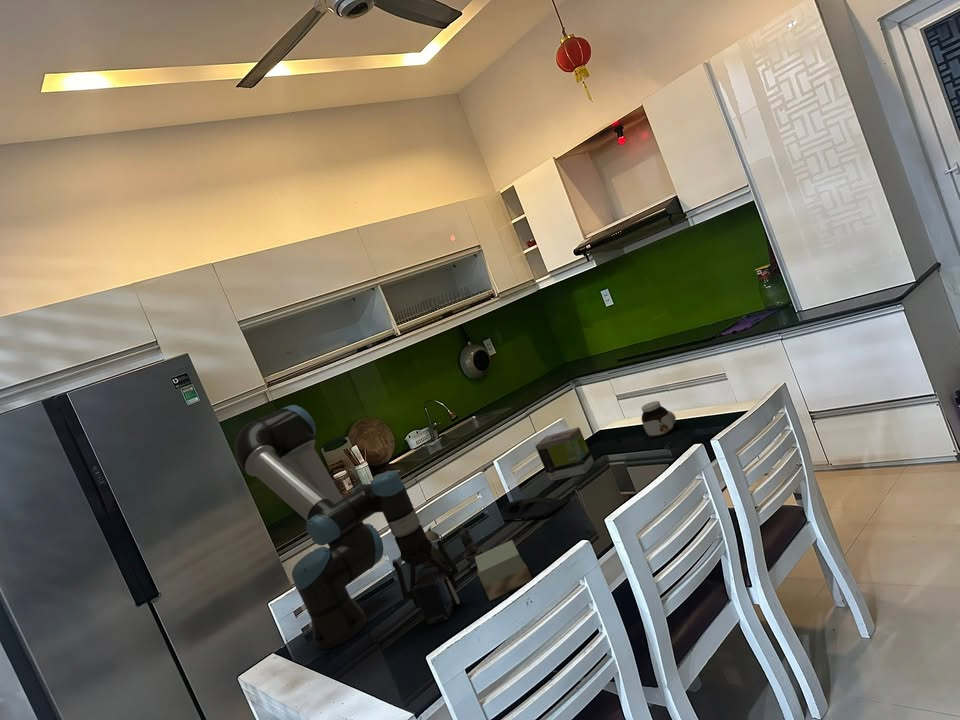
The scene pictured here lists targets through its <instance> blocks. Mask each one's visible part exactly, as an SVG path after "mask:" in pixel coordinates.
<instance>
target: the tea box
mask: <svg viewBox="0 0 960 720" xmlns="http://www.w3.org/2000/svg"><path fill="white" fill-rule="evenodd" d="M534 447H535V449H536V451H537V454H538V456H539V458H540V460H541V463H542V465H543V467H544V469H545V472H546V475H547V477H548V479H549V481H550V482H554V481H557V480H562V479H567V478H572V477H577V476H580V475H581V476H582V475H585V474H587V472H588V471H589V470H590V469H591V468H592V467H593V466H594V464H595V462H594V458H593V456H592V454H591V452H590V450H589V448H588V444H587V442H586V439H585V437H584V435H583V433H582V430H581V428H580V427H575V428H572V429H571V428H570V429H568V430H567V429H566V430H563V431H560V432H557V433H553V434H550V435H546V436H544V437H543V438H542V439H541V440H540V441H539V442H537V444H536V445H535V446H534Z"/></svg>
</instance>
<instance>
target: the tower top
mask: <svg viewBox="0 0 960 720" xmlns="http://www.w3.org/2000/svg"><path fill="white" fill-rule="evenodd" d="M520 557H521V555H520V553H519V552H518V549H517V547H516V545H515V543H514V541H513V539H511V540H508V541H507V542H504V543H503V544H500V545H497V546H495V547H493V548H491V549H488V550H487V551H485V552H482V554H480V555H478V556H476V557H475V560H476V563H477V567H476V568H477V571H479V573H480V576H481V578H482V580H483V583H484V585H485V587H486V586H488V585H490V584H492V583H494V582H496V581H498V580H501V579H503V578H505V577H507V576H509V575H511V574H514V573H516V572H518V571H520V570H522V569H524V568H525V567H524V565H523V562H522V560H523V559H522V557H521V558H520ZM521 559H522V560H521Z"/></svg>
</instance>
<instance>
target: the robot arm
mask: <svg viewBox="0 0 960 720" xmlns="http://www.w3.org/2000/svg"><path fill="white" fill-rule="evenodd" d="M315 425H316V423H315V421H314V419H313V417H312V416H311V415H310V413H309V412H308V411H307V410H305V408H303V407H301V406H299V405H297V404H292V405H291V404H290V405H288V406H285V407H282V408H280V409H276V410H274V411H273V412H270V413H268V414H266V415H264V416H262V417H259V418H258V419H256V420H253V421H251V422H249V423H247V424H246V425H244V426H243V427H242V428H241V430H240V431H239V433H238V434H237V436H236V439H235V443H234V453H235V454H234V455H235V458H236V461H237V463H238V464H239V466H240V468H241V469H242V470H243V471H244V472H245V473H246V474H247V475H249V476H251V477H257V478H258V479H259V480H260V481H261V482H263V484H265V485H266V487H268V488H269V489H270V490H271V491H273V492H274V493H275V494H276V495H277V496H278V497H279V498H280V499H282V501H284V502H285V503H286V504H288V506H290V507H291V509H293V510H294V511H295V512H296V513H297V514H298V515H300V516H301V517H302V518H304V520H305V521H306V525H305V527H306V529H305V530H306V531H307V535H308V536H309V537H310V538H311V540H312V542H314V544H316V545H318V546H320V547H317V548H315V549H313V550H312V551H310V552H309V553H307V554H305V555H304V556H303V557H302V558H300V560H298V561H297V563H296V564H295V565H294V566H293V568H292V570H291V576H292V580H293V583H294V585H295V588H296V590H297V591H298V593H299V596H300V598H301V600H302V602H303V604H304V606H305V608H306V611H307V613H308V614H309V618H310V619H311V620H310V621H311V629H312V639H313V642H314V644H315V647H316V648H317V649H318V650H321V651H324V650H330V649H333V648H335V647H337V646H340V645H341V644H344V643H346V642H347V641H349V640H351V639H352V638H353V637H355V636H356V635H357V634H358V633H359V632H360V631H362V629H363V628H364V627H365V626H366V624H367V621H368V617H367V615H366V613H365V611H364V609H362V607H361V606H359V604H358V603H357V602H356V601H355V600H354V599H353V598H352V597H351V595H350V594H349V592H348V589H347V586H348V585H349V584H351V583H352V582H354V581H355V580H356V579H358V578H359V577H360V576H362V575H364V574H365V573H366V572H368V571H369V570H371V569H373V567H375V566H376V564H377V563H379V562H380V561H381V560H382V558H383V556H384V543H383V540H382V537H381V535H380V532H379V531H378V530H377V529H376V527H374V525H372V524H371V523H365V522H364V521H365V520H367V519H369V517H371V516H373V515H374V514H376V513H377V514H378V513H382V514H383V516H384V518H385V521H386V522H387V524H388V527H389V529H390V531H391V534H392V536H394V541H395V542H396V545H397V547H398V549H399V551H400V556H398V558H394V559H393V560H392V561H391V562H392V567H393V568H394V569H395V571H396V574H397V579H398V582H399V586H400V591H401V593H402V594H401V596H402V597H403V599H405V600H406V599H412V602H413V604H414V607H415V608H416V609H421V608H420V606H419V603H418V601H417V599H416V596H415V594H414V592H413V590H412V589H413V587H414V585H415V584H416V570H417V569H416V567H418V566H420V565H422V564H421V563H425V562H427V561H429V562H430V563H432V564H433V565H434V566H435V567H436V568H437V569H439V570H440V571H441V572H442V573H443V574H444V575H445V576H446V577H447V578H446V579H447V583H448V585H449V587H450V589H451V592H452V594H453V596H454V598H455V601H456V604H457V605H459V604H460V603H461V601H460V599H459V597H458V595H457V592H456V590H458V589H459V587H458V584H457V582H456V578H455V576H456V575H457V574H458V573H459V569H458V567H457V565H456V563H455V562H454V561H453V559H452V558H451V556H450V555H449V553H448V552H447V551H446V548H445V547H444V545H443V541H442V538H441V537H440V538H438V539H437V540H435V541H432V542H431V541H430V540H428V539H427V536H426V534H425V532H426V531H425V530H424V528H423V526H422V524H421V523H420V522H421V521H420V519H419V515H418V514H417V512H416V510H415V508H414V505H413V503H412V501H411V499H410V496H409V493H408V491H407V489H406V487H405V483H404V481H403V480H402V478H401V477H400V474H399V473H398V472H397V471H395V470H389V471H387V472H383V473H381V474H379V475H377V476H376V477H374V478H373V479H371V481H370V483H364V484H361V485H358V486H356V487H354V488H353V489H352V491H351V492H350V494H349V495H347V496H346V497H344V498H343V496H342V494H341V492H340V491H339V489H338V487H337V485H336V484H335V482H334V480H333V479H332V477H331V475H330V474H329V472H328V470H327V467H325V465H324V463H323V461H322V459H321V458H320V455H318V453H317V451H316V450H315V449H316V448H315V444H316V439H315V437H314V436H315V435H316V432H317V427H316V426H315ZM325 545H327V546H328V547H327V546H325ZM432 546H434V547H435V548H436V549H439V551H440V553H441V554H442V558H443V559H444V561H445V563H447V564H448V566H449V567H450V569H451V570H450V569H449V568H448V567H446V566H445V565H443V564H444V563H443V564H442V563H441V562H439V561H438V560H437V559H436V558H435V557H434V556H433V555H432V554H431V549H432ZM403 562H404V563H406V564H409V569H410V570H409V580H410V581H409V584H410V585H409V590H407V586H406V581H405V577H404V574H403V569H402V566H403Z"/></svg>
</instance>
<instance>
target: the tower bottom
mask: <svg viewBox="0 0 960 720" xmlns="http://www.w3.org/2000/svg"><path fill="white" fill-rule="evenodd" d="M520 558H521V560H522V562H523V565H524V567H525V568H524V569H522V570H520V571H518V572H516V573H514V574H511V575H509V576H507V577H505V578H503V579H501V580H498V581H496V582H494V583H492V584H490V585H488V586H486V587H485V585H484V583H483V580H482V578H481V576H480V573H479V570H477V571H476V573H477V575H478V577H479V580H480V582H481V584H482V586H483V589H484V591H485V593H486V596H487V598H488V600H489V601H490V602H491V601H492V600H495V599H497V598H499V597H502V596H503V595H505V594H506V593H509V592H511V591H512V590H515V589H517V588H519V587H521V586H523V585H526V583H528V582H531V581H533V580H532V579H533V577H532V574H531V572H530V570H529V567H528V566H527V564H526V563H525V562H524V560H523V559H522V557H521V556H520ZM530 580H531V581H530Z"/></svg>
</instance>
